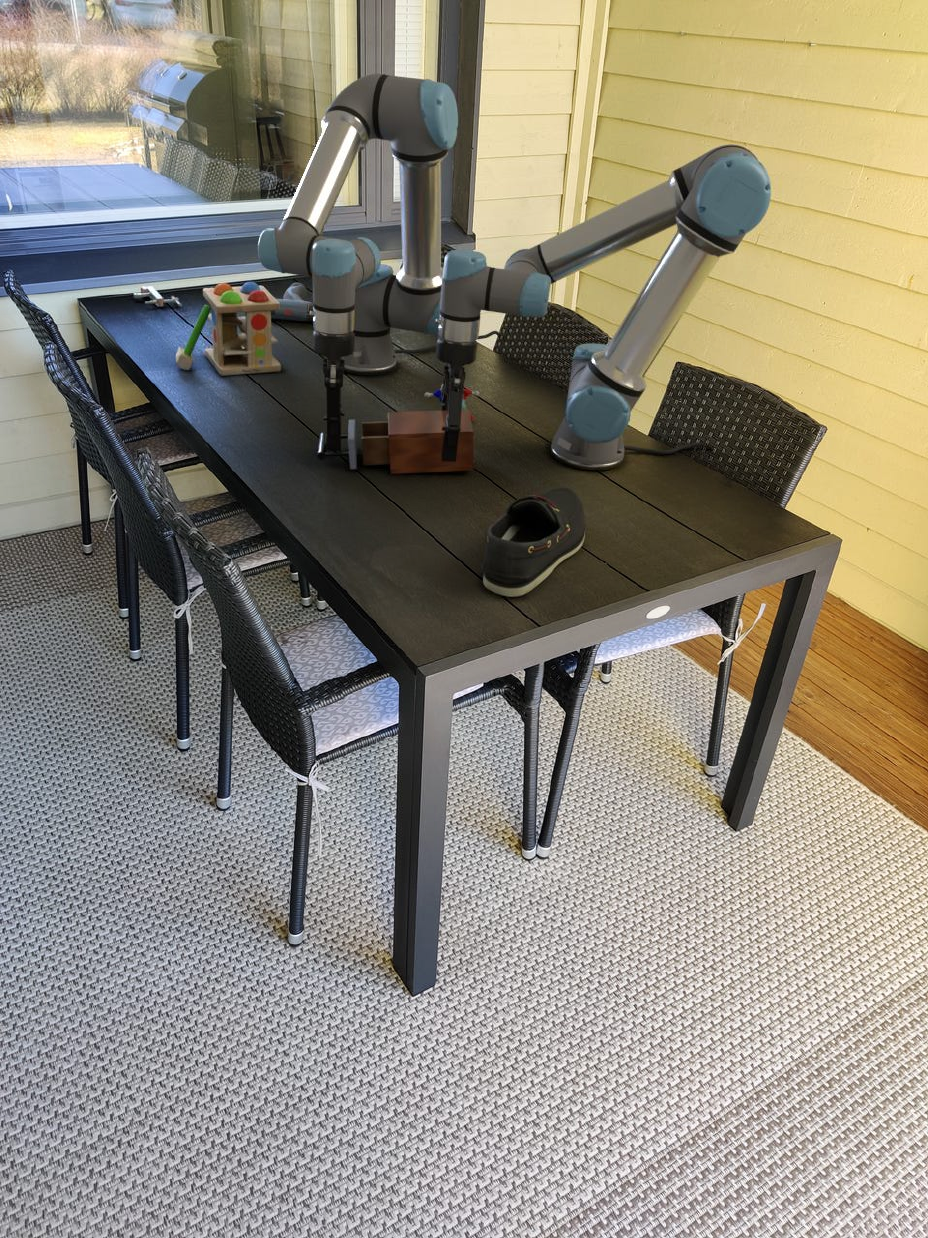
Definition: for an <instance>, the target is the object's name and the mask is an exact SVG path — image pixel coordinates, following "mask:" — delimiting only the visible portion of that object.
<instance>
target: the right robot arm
mask: <svg viewBox="0 0 928 1238" xmlns="http://www.w3.org/2000/svg"><path fill="white" fill-rule="evenodd" d="M771 197H772V185H771V179H770V176H769V174H768V171H767V169H766V168H765V166H764V165H763V163H762V162H760V160H759V159H758V158H757V156H756V155H755V154H754V153H753V152H752V151H751V150H749V149H748V148H746V147H744V146H742V145H738V144H731V143H729V144H724V145H719V146H717V147H714V148H712V149H710V150H708V151H707V152H705V153H703V154H702V155H699V156H698V157H696V158H694V159H693V160H690V161H689V162H687V163H685V164H684V165H682V166H680V167H678V168H676V169H674V170H672V171H671V172H670V175H669V177H668V178H667V180H665V181H663V182H661V183H659V184H657V185H655V186H653V187H651V188H649V189H647V190H645V191H643V192H641V193H639V194H637V195H635V196H633V197H631V198H629V199H627V200H625V201H623V202H621V203H619V204H617V205H615V206H613V207H611V208H609V209H607V210H605V211H603V212H601V213H599V214H597V215H595V216H592V217H590V218H589V219H586V220H584V221H582V222H581V223H578V224H576V225H575V226H572V227H571V228H568V229H566V230H564V231H562V232H560V233H559V234H556V235H555V236H552V237H550V238H548V239H546V240H544V241H542V242H540V243H539V244H537V245H534V246H532V247H529V248H521V249H518V250H516V251H514V252H513V253H512V254H511V255H510V256H509V258H507V260H506V262H505V264H504V267H503V268H499V267H491V266H489V265H488V263H487V257H486V255H485V254H484V253H483V252H480V251H475V250H474V249H473V250H472V249H467V248H466V249H465V248H464V249H463V248H461V249H459V248H458V249H453V250H450V251H449V252H447V254H446V255H445V256H444V260H443V261H444V262H443V267H442V268H443V276H442V285H441V300H440V316H439V317H440V319H436V322H435V323H436V324H438V325H439V327H438V335H437V336H438V337H437V339H436V345H437V348H435V351H436V352H435V357H436V359H437V360H438V361H440V362H442V363H444V364H445V365H443V367H442V368H443V369H442V370H443V376H442V377H443V378H442V384H443V389H442V393H441V395H442V396H441V397H442V404H444V405H442V404H441V408H440V411H441V410H447V415H446V426H445V427H442V431H444V442H443V452H442V461H450V462H456V457H457V447H458V437H459V432H460V430H461V427H460V426H461V411H462V400H463V397H464V395H463V391H464V390H465V389H464V386H465V382H466V371H465V369H466V368H465V366H466V365H468V366H469V365H472V364H473V363H475V361H476V360H477V353H478V342H477V340H479V339H478V336H480V325H481V312H482V311H485V312H493V313H499V314H504V315H505V314H507V315H512V316H518V317H523V318H537V319H538V318H539V319H540V318H543V317H545V316H546V314H547V311H548V305H549V299H550V291H551V287H552V286H551V285H553V284H554V283H557V282H558V281H560V280H563V279H565V278H567V277H569V276H571V275H574V274H575V273H577V272H579V271H581V270H584V269H586V268H588V267H590V266H592V265H595V264H596V263H598V262H600V261H603V260H605V259H607V258H608V257H611V256H613V255H615V254H617V253H620V252H621V251H624V250H626V249H628V248H631V247H632V246H634V245H636V244H639V243H641V242H642V241H645V240H647V239H649V238H651V237H653V236H655V235H658V234H660V233H662V232H664V231H666V230H668V229H669V228H672V227H675V226H676V227H677V228H676V229H677V230H676V232H675V234H674V236H673V237H672V239H671V241H670V242H669V244H668V246H667V247H666V249H665V250H664V252H663V253H662V255H661V257H660V259H659V261H657V264H656V266H655V267H654V269H653V270H652V271H651V273H650V275H649V277H648V278H647V280H646V282H645V283H644V285H643V286H642V288H641V290H640V292H639V293H638V295H637V296H636V299H634V302H633V303H632V305H631V306H630V308H629V310H628V311H627V313H626V315H625V316H624V317H623V319H622V321H621V323H620V325H619V326H618V328H617V330H616V331H615V333H614V335H612V337H611V340H610V341H609V342H608V344H604V343H583V344H579V345H577V346H576V347H575V349H574V352H573V356H572V357H571V360H572V363H571V371H570V378H569V382H568V383H569V384H568V390H567V396H566V404H565V410H564V416H563V418H562V420H561V423H560V424H559V426H558V428H557V430H556V432H555V435H554V436H553V438H552V441H551V445H550V454H551V456H552V457H553V458H554V459H555V460H556V461H558V462H560V463H562V464H563V465H566V466H568V467H571V468H575V469H578V470H585V471H597V472H598V471H599V472H601V471H608V470H613V469H615V468H618V467H619V466H621V465H622V463H623V462H624V459H625V451H630V452H631V451H632V452H638V453H644V454H645V453H646V454H652V455H672V454H675V453H677V452H680V451H682V450H689V449H692V448H698V447H702V446H701V445H702V444H701V443H700V442H701V441H699V442H692V443H688V444H683V445H679V446H676V447H674V448H671V449H663V450H662V449H651V448H645V447H637V446H631V445H624V444H625V443H624V438H623V434H624V432H625V431H626V429H627V427H628V425H629V423H630V421H631V412H632V411H633V409H634V408H635V406H636V404H637V403H638V401H639V400H640V398H641V396H642V395H643V394H644V392H645V390H646V389H647V382H646V378H645V376H646V373H647V372H648V371H649V369H650V367H651V366H652V364H653V362H654V361H655V360H656V358H657V356H658V355H659V354H660V352H661V350H662V348H663V347H664V345H665V344H666V342H667V340H668V339H669V338H670V336H671V334H672V333H673V332H674V330H675V329H676V327H677V325H678V324H679V322H680V321H681V320H682V317H683V316H684V314H685V313H686V311H687V310H688V308H689V307H690V305H691V303H692V302H693V301H694V299H695V297H696V295H697V294H698V293H699V292H700V289H701V288H702V286H703V285H704V283H705V282H706V280H707V278H708V276H709V275H710V274H711V272H712V271H713V269H714V268H715V266H716V265H717V263H718V261H719V260H720V258H723V257H724V256H728V255H732V254H734V253H735V251H736V250H737V248H738V247H739V245H740V244H741V242H742V241H743V239H744V238H745V236H746V235H747V234H748V233H750V232H752V230H754V229H755V228H756V227H757V226H758V225H759V224H760V223H761V222H762V221H763V219H764V217H765V216H766V214H767V212H768V210H769V207H770V204H771V199H772V198H771ZM704 447H706V448H708V449H709V450H710V451H713V452H714V451H716V448H715V447H714V448H715V449H714V448H712V447H710V446H704Z"/></svg>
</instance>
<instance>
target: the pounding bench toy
mask: <svg viewBox="0 0 928 1238" xmlns="http://www.w3.org/2000/svg"><path fill="white" fill-rule="evenodd" d="M202 296H203V298H204V299H205V300H206V301H207V302H208V304H209V305H208V304H204V305H203V307H202V309H201V312H200V313H199V316H198V318H197V320H196V322H195V324H194V327H193V329H192V331H191V332H190V333H191V334H190V336H189V338H188V340H187V343H186V344H185V347H184V348H182V347H180V346H179V347H178V349H177V351H176V354H175V357H174V358H175V362H176V365H177V366H178V368H179V369H182V370H185V371H189V370H190V369H191V367H192V365H193V363H194V356H193V351H194V348H195V347H196V345H197V342H198V340H199V337H200V336H201V333H202V332H203V329H204V326H205V325H206V322H207V320H209V321H210V322H211V336H212V337H211V338H212V339H211V340H212V348H205V349H204V352H205V353H204V355H205V357H206V359H208V361H209V363H210V364H211V365H212V366H213V367H214V369H215V370H216V371H217V372H218V374H219V375H220V376H222V377H223V376H234V375H235V376H236V375H246V374H247V375H250V374H262V373H275V372H281V370H282V364H281V363H280V362H279V360H278V359H277V358H276V357H275V356H274V355H273V348H272V347H273V345H272V344H276V343H278V342H279V341H278V339H277V338H276V337H275V336H274V334H272V318H271V310H280V303H279V302H278V301H277V300H276V299H277V298H276V297H274V296H273V295H272V294H271V293H270V292H269V290H268V289H267V288H266V287H264V285H259V284H257V283H256V282H255V281H247V282H245V283H244V284H243V285H242V286H232V285H230V284H229V283H226V282H221V283H218V284H217V285H216V286H215V287H204V288H203V289H202ZM238 313H244V314H245V315H244V316H238ZM238 329H239V331H240V333H239V334H238Z"/></svg>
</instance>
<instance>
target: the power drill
mask: <svg viewBox="0 0 928 1238" xmlns="http://www.w3.org/2000/svg"><path fill="white" fill-rule="evenodd" d="M307 295H308V290H307V287H306V285H304V284H303V283H301V282H293V283H292V284H291V285H290V286H289V287H288V288H287V289H286V291H285V292H284V294H283V297H282V298H275V299H276V300H277V301H278V302H279V303H280V310H271V319H274V320H275V319H276V320H283V321H294V322H295V321H297V322H313V319H314V317H311V316H310V311H313V301H307V300H305V299H306V297H307Z"/></svg>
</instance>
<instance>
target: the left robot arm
mask: <svg viewBox="0 0 928 1238" xmlns="http://www.w3.org/2000/svg"><path fill="white" fill-rule="evenodd" d="M458 127H459V113H458V104H457V100H456V97H455V93H454V92H453V90H452V89H451V87H450V86H449V85H448V84H447V83H444V82H440V81H434V80H432V79H429V78H425V79H424V78H415V77H406V76H400V75H399V76H398V75H389V74H384V73H372V74H371V73H370V74H367V75H364V76H361V77H359V78H358V79H356V80H354V81H353V82H351V83H349V85H347V86H346V87H345V88H343V90H341V91H340V92H339V94H337V95H336V97H335V98H334V99H333V100H332V102H331V103H330V104H329V105H328V107H327V109H326V111H325V113H324V116H323V118H322V119H321V129H322V133H321V136H320V137H319V140H318V142H317V144H316V147H315V149H314V151H313V153H312V156H311V158H310V160H309V162H308V164H307V166H306V169H305V171H304V173H303V176H302V178H301V180H300V183H299V185H298V187H297V189H296V192H295V193H294V196H293V198H292V200H291V203H290V205H289V207H288V209H287V211H286V214H285V215H284V218H283V220H282V221H281V224H280V226H279V228H277V227H266V228H265V229H264V230H262V232H261V234H260V236H259V239H258V244H257V255H258V258H259V261H260V264H261V265H262V267H263V268H265V269H267V270H270V271H272V272H273V271H274V272H277V273H281V274H289V275H295V276H296V275H297V276H302V277H307V278H312V302H313V311H310V316H311V317H314V319H313V321H312V324H313V325H312V327H313V329H314V330H313V332H312V343H313V345H312V346H313V347H312V348H313V351H314V352H315V353H316V354H317V355H319V356H323V357H325V358H323V363H322V373H323V374H324V379H323V380H324V381H323V383H324V387H325V388H326V415H323V419H322V420H323V421H324V422H325V421H326V434H327V448H326V452H342V439H341V435H342V417H345V411H344V410H343V411H342V410H341V409H342V403H341V402H342V388H343V386H344V374H345V373H347V374H352V375H356V376H380V375H381V376H382V375H386V374H389V373H391V372H393V371H395V369H396V368H397V361H398V359H397V354H419V353H423V352H424V353H425V352H428V351H432V350H434V349H435V350H436V348H437V344H433V345H430V346H426V347H422V348H417V349H395V347H394V343H393V341H392V337H391V336H392V335H391V328H392V329H398V330H404V331H410V332H415V333H421V334H423V335H433V336H439V335H438V327H439V325H438V324H436V323H435V322H436V319H440V317H439V316H440V300H441V285H442V276H443V268H444V267H442V199H441V198H442V196H441V195H442V192H441V191H442V189H441V188H442V186H441V185H442V184H441V183H442V182H441V181H442V180H441V179H442V177H441V176H442V175H441V174H442V173H441V172H442V171H441V170H442V169H441V164H442V163H441V162H442V161H443V160H444V159H445V158H446V157H447V156H448V154H449V149H451V148H453V147H454V145H455V144H456V140H457V136H458ZM377 139H378V140H380V141H381V140H382V141H388V142H390V148H391V149H390V150H391V155H392V157H393V158H394V159H396V160H397V161H398V164H399V165H398V167H399V168H398V169H399V197H400V224H401V225H400V227H401V229H400V230H401V253H402V255H401V256H402V257H401V258H402V267H401V268H400V269H398V271H397V272H396V274H394V273H395V272H394V269H393V267H392V266H391V265H388V264H385V263H384V264H383V263H382V256H381V252H380V248H379V247H378V246H377V245H376V243H375V242H373V240H371V239H369V238H368V237H363V236H359V237H354V238H351V239H349V240H348V239H343V238H342V239H341V238H335V237H329V236H323V235H322V234H323V232H324V230H325V228H326V226H327V223H328V221H329V219H330V217H331V214H332V212H333V210H334V207H335V205H336V203H337V200H338V198H339V196H340V194H341V191H342V190H343V186H344V185H345V182H346V180H347V177H348V175H349V173H350V171H351V168H352V166H353V164H354V162H355V160H356V157H357V155H358V153H359V152H361V151H363V150H364V149H365V148H366V147H367V146H368V143H369V141H370V140H377ZM494 335H496V336H497V337H501V336H500V335H501V333H500V332H499V331H498V330H492V331H489V333H486V334H483V335H479V336H478V339H477V340H483V339H487V338H490V337H492V336H494Z"/></svg>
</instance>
